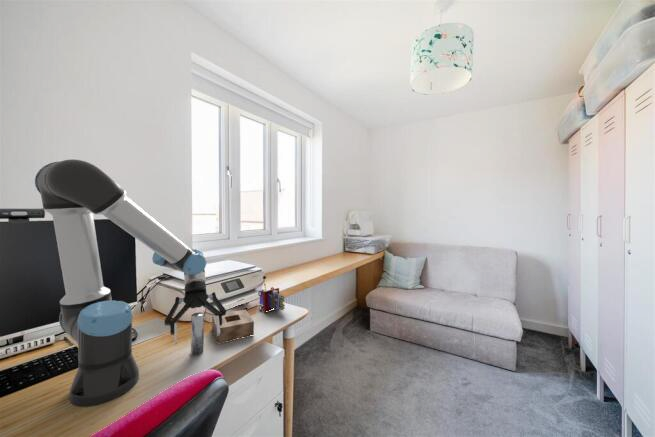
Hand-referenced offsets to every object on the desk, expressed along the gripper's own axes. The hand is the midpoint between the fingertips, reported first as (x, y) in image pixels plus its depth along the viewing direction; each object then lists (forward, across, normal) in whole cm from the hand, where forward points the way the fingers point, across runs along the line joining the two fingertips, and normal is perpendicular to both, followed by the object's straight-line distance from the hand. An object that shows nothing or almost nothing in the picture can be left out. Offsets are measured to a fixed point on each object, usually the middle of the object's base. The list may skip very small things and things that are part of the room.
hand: (198, 338), depth 91 cm
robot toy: (-15, -36, -24) cm, 46 cm away
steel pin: (+3, 0, -6) cm, 7 cm away
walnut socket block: (-4, -14, -13) cm, 20 cm away
